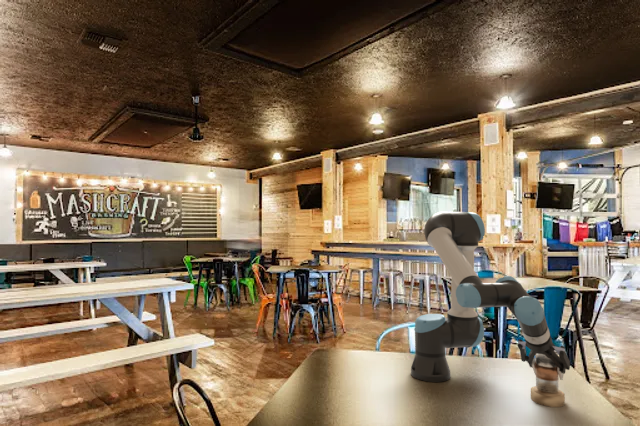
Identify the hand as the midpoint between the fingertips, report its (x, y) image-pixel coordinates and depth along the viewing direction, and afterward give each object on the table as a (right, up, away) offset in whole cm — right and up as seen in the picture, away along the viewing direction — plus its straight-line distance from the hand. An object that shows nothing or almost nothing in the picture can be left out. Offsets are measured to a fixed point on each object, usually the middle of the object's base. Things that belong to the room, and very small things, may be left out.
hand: (549, 373), depth 142 cm
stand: (-2, -8, -3) cm, 9 cm away
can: (-2, -4, -3) cm, 5 cm away
